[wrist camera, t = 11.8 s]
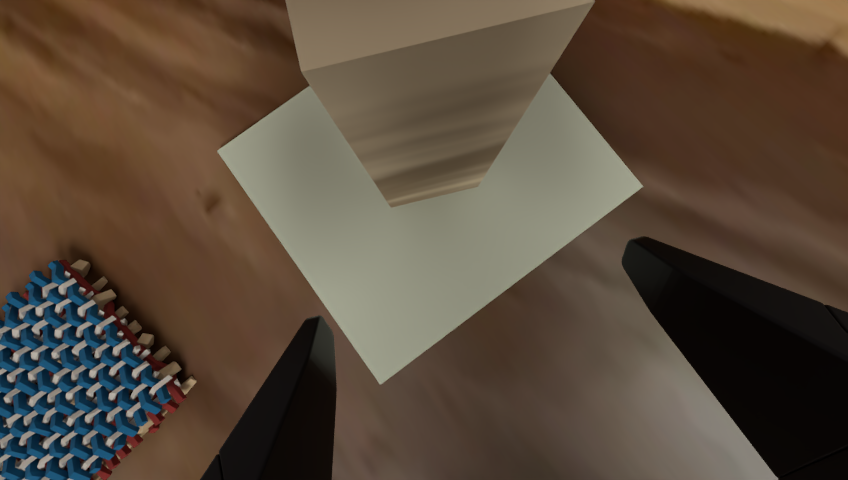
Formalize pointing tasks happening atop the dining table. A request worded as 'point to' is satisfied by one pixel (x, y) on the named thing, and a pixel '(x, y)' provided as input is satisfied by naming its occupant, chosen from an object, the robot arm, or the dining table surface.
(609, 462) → the dining table surface
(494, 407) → the dining table surface
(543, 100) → the sage placemat
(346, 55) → the beige rectangular block
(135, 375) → the woven mat
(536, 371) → the dining table surface
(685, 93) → the dining table surface
